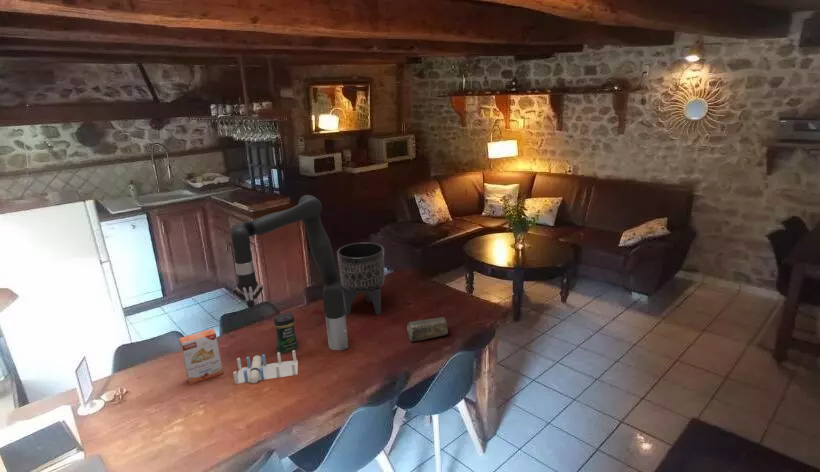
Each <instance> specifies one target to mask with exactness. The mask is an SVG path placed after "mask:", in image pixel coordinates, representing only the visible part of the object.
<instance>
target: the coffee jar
mask: <svg viewBox="0 0 820 472" xmlns="http://www.w3.org/2000/svg"><path fill="white" fill-rule="evenodd" d="M295 323H296V320H295V317H294V314H293V313H292V312H291V311H289V312H285V313H281V314H278V315H274V317H273V326H274V328H275V330H276V350H277V353H278V352H280V354H285V353H289V352H292V350H295V351H296V350H297V349H299V346H298V345H299V344H298V340H297V335H296V330H295Z"/></svg>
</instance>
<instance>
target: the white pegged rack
mask: <svg viewBox="0 0 820 472" xmlns="http://www.w3.org/2000/svg"><path fill="white" fill-rule="evenodd" d="M291 352H292V359H293V360H287V361H282V357H281V356H282V355H281V353H280V352H278V351H277V353H276V355H277V362H272V363H267V361H266V354H265V353H264V354H261V357H262V364H261V368H260V375H259V380H258V381H263V380H264V381H265V380H269V379H277V378H283V377H289V376H297V375H298V372H299V371H298V366H299V360H298V359H297V356H296V349H295V350H292V351H291ZM245 358H246V363H247V366H245V367H242V360H241V358H240V357H237V358H236V361H237V367H238V370H237V371H233V378H234V383H235V384H237V385H238V384H242V383H250V382H249V376H250V371H251V366H252V362H251V359H250V356H246V357H245Z"/></svg>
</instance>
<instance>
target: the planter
mask: <svg viewBox="0 0 820 472" xmlns="http://www.w3.org/2000/svg"><path fill="white" fill-rule="evenodd" d="M336 254H337V255H336V256H337V261H338V269H339V275H340V276H339V278H340V281H341V283H342V286H343V301H344V308H345V315H350V314H351V311H352V309H351V308H352V303H353V301H354V299H355V298H356V297H357V296H358V295H359V294H361V293H365V294H364V295H365V300H366V303H371V302H372V304H373V307H374V314H375V315H376V314H377V315H376V316H379V315H381V314H382V293H381V291H382V290H381V287H382V286H383V284H385V283H384V282H385V248H384V246H383V245H381V244H379V243H376V242H368V241H367V242H366V241H365V242H364V241H362V242H354V243H350V244H349V243H348V244H346V245H343V246H341V247H340V248H339V249H338V250H337V251H336ZM371 300H372V301H371Z"/></svg>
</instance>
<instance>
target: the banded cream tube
mask: <svg viewBox="0 0 820 472" xmlns="http://www.w3.org/2000/svg"><path fill="white" fill-rule="evenodd" d="M251 361H252V362H251V371H250V376H249V382H248V383H251V384H256V383H258V382H259V381H260V380H259V375H260V368H261V365H262V363H263V361H262V355H261V356H260V355H258V354H257V355H254V356H253V358H252V360H251Z"/></svg>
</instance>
